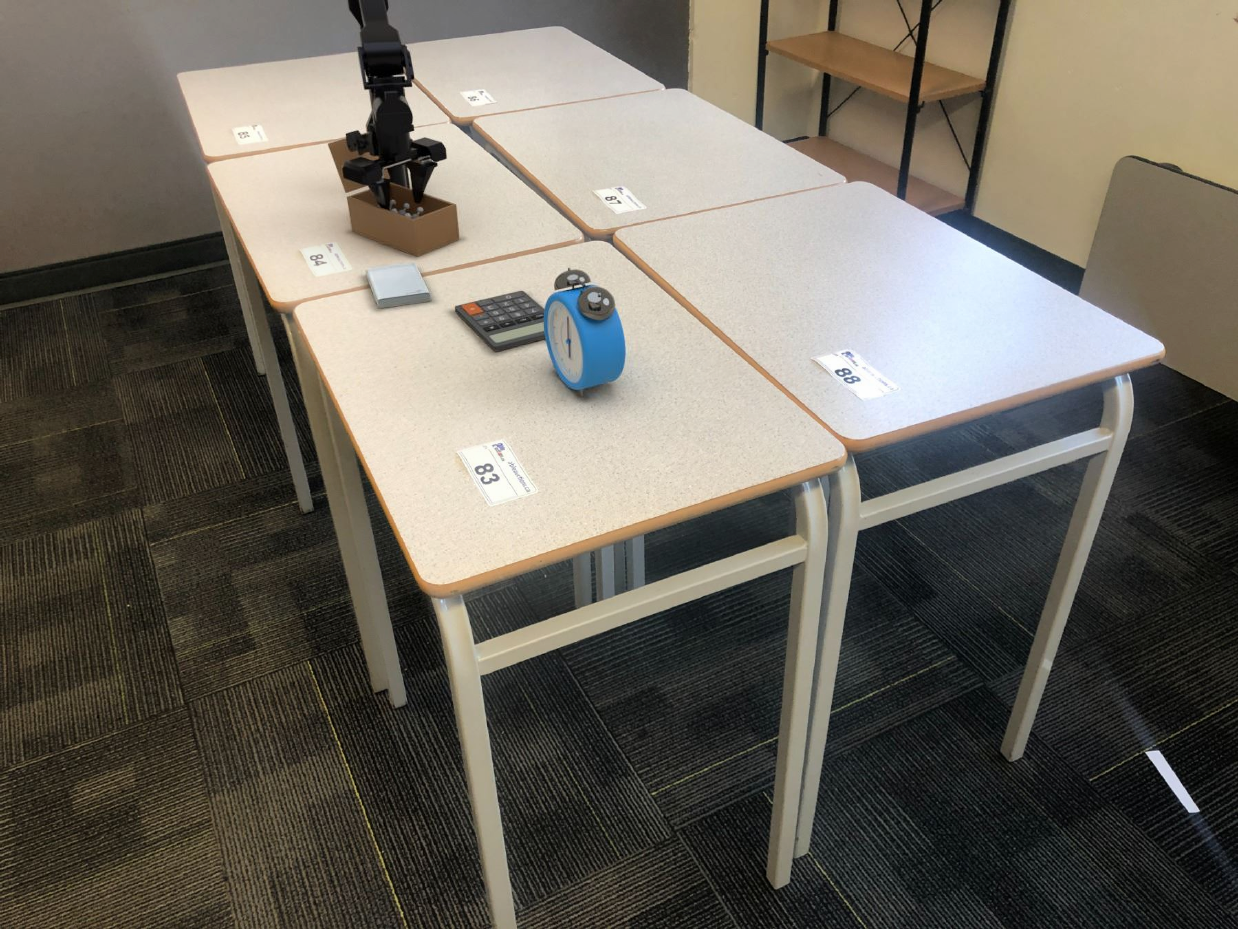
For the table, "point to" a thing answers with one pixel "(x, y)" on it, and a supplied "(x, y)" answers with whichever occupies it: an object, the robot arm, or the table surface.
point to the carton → (405, 221)
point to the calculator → (505, 319)
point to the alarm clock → (583, 332)
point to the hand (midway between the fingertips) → (401, 208)
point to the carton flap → (343, 154)
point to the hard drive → (397, 285)
